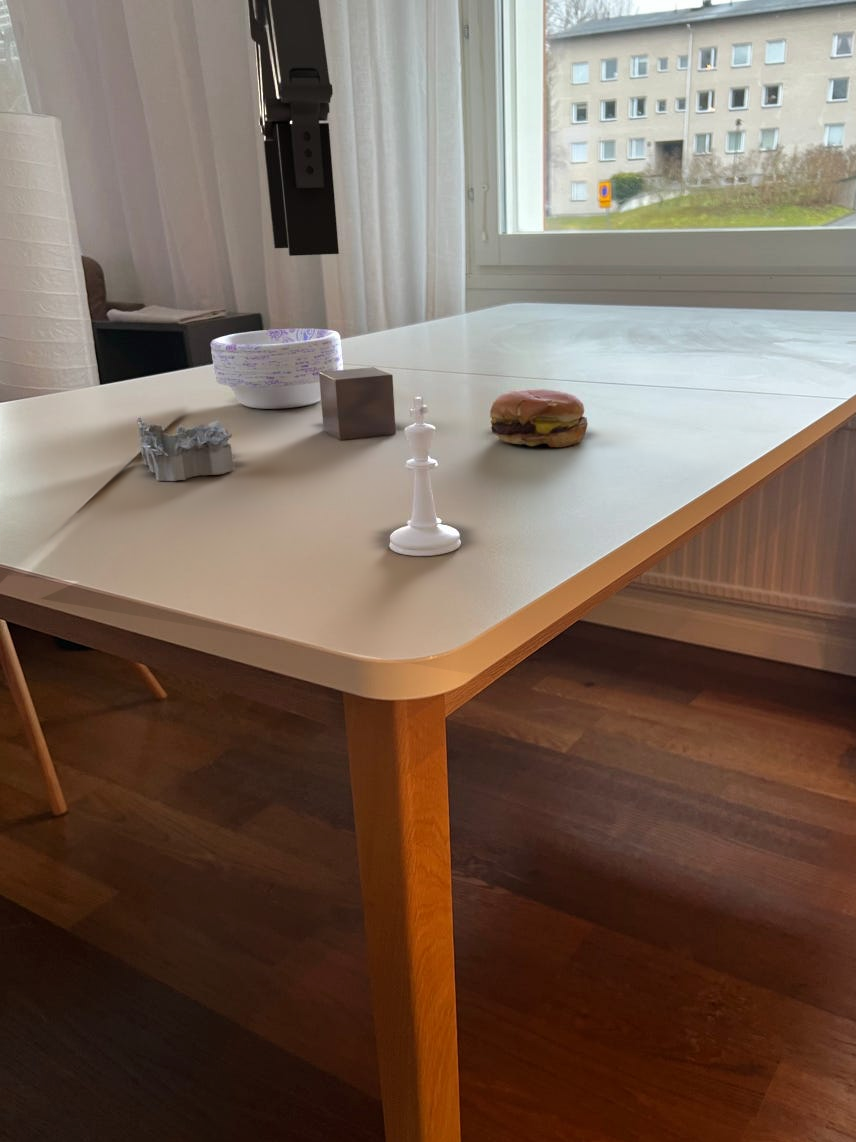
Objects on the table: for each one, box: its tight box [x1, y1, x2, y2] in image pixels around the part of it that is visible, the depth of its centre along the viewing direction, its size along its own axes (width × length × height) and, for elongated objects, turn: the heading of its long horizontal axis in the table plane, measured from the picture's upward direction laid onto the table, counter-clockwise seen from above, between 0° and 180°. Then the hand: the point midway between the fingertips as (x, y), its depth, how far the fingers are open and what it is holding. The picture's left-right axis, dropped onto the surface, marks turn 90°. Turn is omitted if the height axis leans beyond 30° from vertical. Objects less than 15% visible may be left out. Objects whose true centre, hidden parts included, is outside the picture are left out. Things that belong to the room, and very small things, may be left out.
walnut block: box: [319, 366, 397, 441], centre depth 102 cm, size 6×6×6 cm
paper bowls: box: [210, 328, 344, 410], centre depth 119 cm, size 15×15×8 cm
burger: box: [489, 388, 588, 448], centre depth 97 cm, size 10×9×5 cm
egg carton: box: [136, 417, 235, 482], centre depth 90 cm, size 11×8×4 cm
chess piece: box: [388, 396, 462, 557], centre depth 66 cm, size 5×5×10 cm
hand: (303, 251), depth 61 cm, fingers open, 13 cm apart
